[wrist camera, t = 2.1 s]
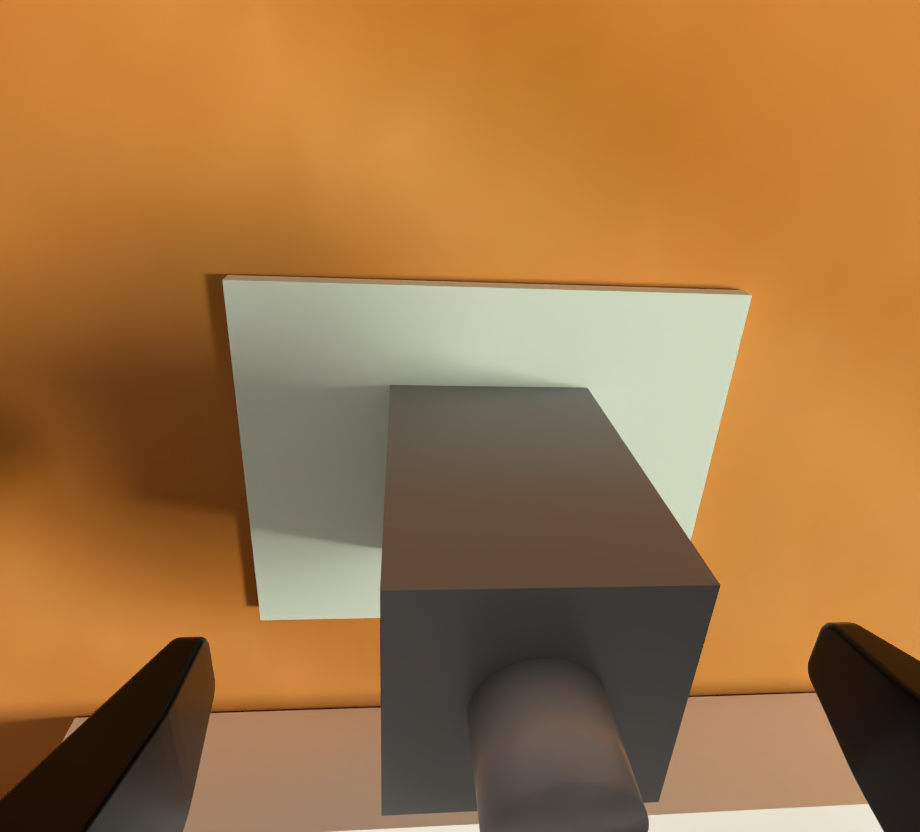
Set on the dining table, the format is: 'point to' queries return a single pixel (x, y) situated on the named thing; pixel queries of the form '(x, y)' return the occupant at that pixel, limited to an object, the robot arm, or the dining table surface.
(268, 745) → the strip
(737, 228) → the dining table surface
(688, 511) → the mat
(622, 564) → the plug
